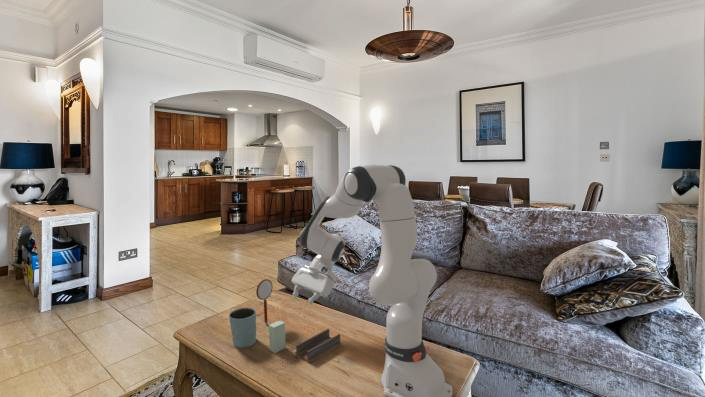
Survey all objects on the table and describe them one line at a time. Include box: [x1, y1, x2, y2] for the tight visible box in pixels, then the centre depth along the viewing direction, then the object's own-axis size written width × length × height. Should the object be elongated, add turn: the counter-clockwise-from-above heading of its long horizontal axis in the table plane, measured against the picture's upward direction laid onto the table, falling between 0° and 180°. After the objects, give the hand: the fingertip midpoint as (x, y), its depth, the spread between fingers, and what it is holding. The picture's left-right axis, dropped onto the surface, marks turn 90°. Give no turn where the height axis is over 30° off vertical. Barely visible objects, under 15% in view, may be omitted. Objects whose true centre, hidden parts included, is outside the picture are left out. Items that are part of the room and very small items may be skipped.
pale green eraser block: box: [268, 320, 287, 354], centre depth 132 cm, size 3×5×10 cm, turn 137°
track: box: [294, 328, 342, 364], centre depth 131 cm, size 8×16×4 cm, turn 137°
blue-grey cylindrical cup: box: [228, 307, 257, 349], centre depth 137 cm, size 10×10×12 cm
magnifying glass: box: [255, 278, 273, 325], centre depth 150 cm, size 9×2×20 cm, turn 146°
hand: (301, 299), depth 139 cm, fingers open, 8 cm apart
